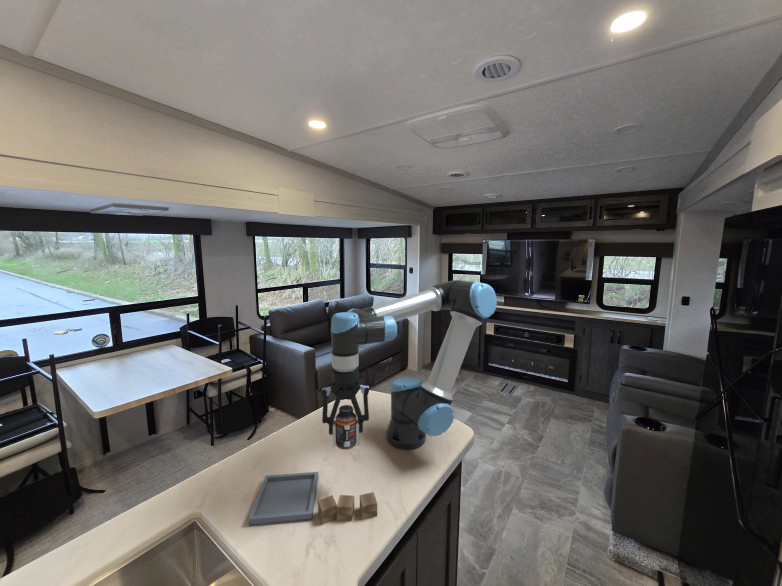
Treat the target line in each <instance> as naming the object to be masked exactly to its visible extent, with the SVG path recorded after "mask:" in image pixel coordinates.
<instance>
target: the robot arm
mask: <svg viewBox="0 0 782 586" xmlns="http://www.w3.org/2000/svg"><path fill="white" fill-rule="evenodd" d="M497 301H498V299H497V295H496V292H495V290H494V288H493V287H492V286H491V285H490V284H488V283H484V282H480V281H467V280H460V279H459V280H457V279H455V280H448V281H445V282H441V283H438V284H434V285H431V286H428V287H427V288H426V289H425V290H424V291H420V292H417V293H413V294H409V295H406V296H402V297H399V298H395V299H393V300H388V301H386V302H382V303H379V304H376V305H373V306H368V307H365V308H362V309H359V308H351V309H349V310H347V311H346V312H345V311H344V312H337V313H334V314H333V315H332V317H331V322H330V325H331V326H330V334H331V335H330V336H331V367H332V369H331V384H330V386H323V387H322V389H321V391H320V392H321V393H320V394H321V396H322V398H323V400H322V415H321V416H322V420H321V422H322V424H326V425H328V434H329V436H332V446H333V447H332V448H335V447H337V445H336V416H337V411H338V410H339V405H340V403H341V401H344V400H348V401H349V400H350V402H351V404H352V407H353V411H354V413H355V415H356V445H355V446H359V445H360V434H361V433H363V431H364V425H363V424H364V422H365V421H366V422H368V421H369V420H370V413H369V400H368V399H369V392H370V386H369V385H368V384H365V385H363V384H361V382H360V380H359V379H360V378H359V375H360V371H359V361H360V360H359V357H360V356H359V352H360V351H359V349H360V346H365V345H371V344H377V343H378V344H379V343H386V342H389V341H393V340H394V339H396V337H397V334H398V324H397V322H399V321H402V320H405V319H408V318H411V317H414V316H415V317H416V316H418V315H421V314H424V313H428V312H430V311H434V312H437V311H438V312H439V311H443V310H449V311H450V312H449V313H450V316H451V321H450V323H449V327H448V328H447V330H446V334H445V336H444V339H443V340H442V344H441V345H440V348H439V351H438V353H437V357H436V359H435V361H434V364H433V366H432V369H431V371H430V374H429V376H428V378H427V381H426V382H424V383H423V381H422V380H421V379H420V378H417V377H405V376H404V377H400V378H397V379H394V380H393V381H392V383H391V387H390V420H389V424H388V426H387V428H386V437H385V439H386V441H387V442H388V444H389V445H390V446H391V447H394V448H396V449H400V450H414V449H417V448H420V447H422V446H424V444H425V442H426V441H427V435H428V436H430V437H437V436H441V435H442V434H444V433H446V432H447V431H448V430H449V429H450V427H451V426H452V424H453V422H454V419H455V412H454V408H453V407H452V403H453V402H454V401H453V400H454V398H453V396H452V390H453V388H454V385H455V382H456V379H457V377H458V375H459V372H460V369H461V367H462V365H463V362H464V358H465V357H466V354H467V352H468V348H469V346H470V344H471V341H472V339H473V335H474V333H475V331H476V329H477V328H478V327H479V326H482V324H483V322H484V319H487V318H490V317H491V316H492V315H493V314H494V313H495V311H496V310H497V306H498V305H497ZM359 391H360V393H361V394H362V395H363V396H362V397H363V399H362V400H363V412H364V413H363V414H362V412H361V407H360V406H359V403H358V400H357V396H356V395H357V393H358V392H359ZM331 392H332V393H333V395H335V399H334V402H333V405H332V409H331V412H330V415H329V416H328V412H329V411H328V406H329V396H330V395H331Z"/></svg>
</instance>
